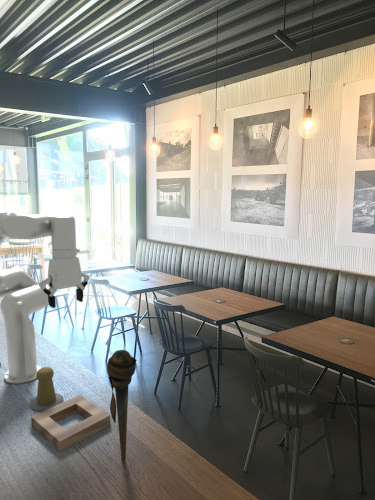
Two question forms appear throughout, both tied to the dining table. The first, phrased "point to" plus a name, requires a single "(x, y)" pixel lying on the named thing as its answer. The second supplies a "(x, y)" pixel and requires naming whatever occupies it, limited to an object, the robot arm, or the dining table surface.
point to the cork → (45, 387)
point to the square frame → (75, 433)
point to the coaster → (42, 408)
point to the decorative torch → (120, 391)
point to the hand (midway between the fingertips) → (66, 303)
